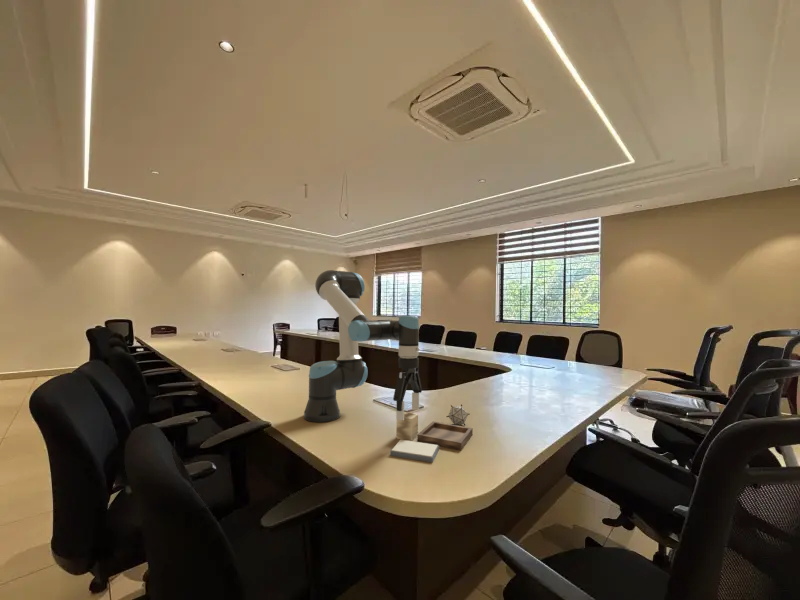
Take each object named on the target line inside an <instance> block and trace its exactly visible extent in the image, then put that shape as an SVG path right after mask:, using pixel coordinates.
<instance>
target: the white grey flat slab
mask: <svg viewBox="0 0 800 600" xmlns="http://www.w3.org/2000/svg"><path fill="white" fill-rule="evenodd" d="M439 450H440V446H438V445H434V444H427V443H423V442H418V441H414V440H412V441H407V440H402V439H398V441H397V443H396V444H395V445H394V446H393V447H392V448H391V450H390V452H389V455H390V456H391V457H396V458H403V459H409V460H415V461H422V462H428V463H433V462H434V461H435V458H436V457H437V455H438V453H439Z"/></svg>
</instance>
